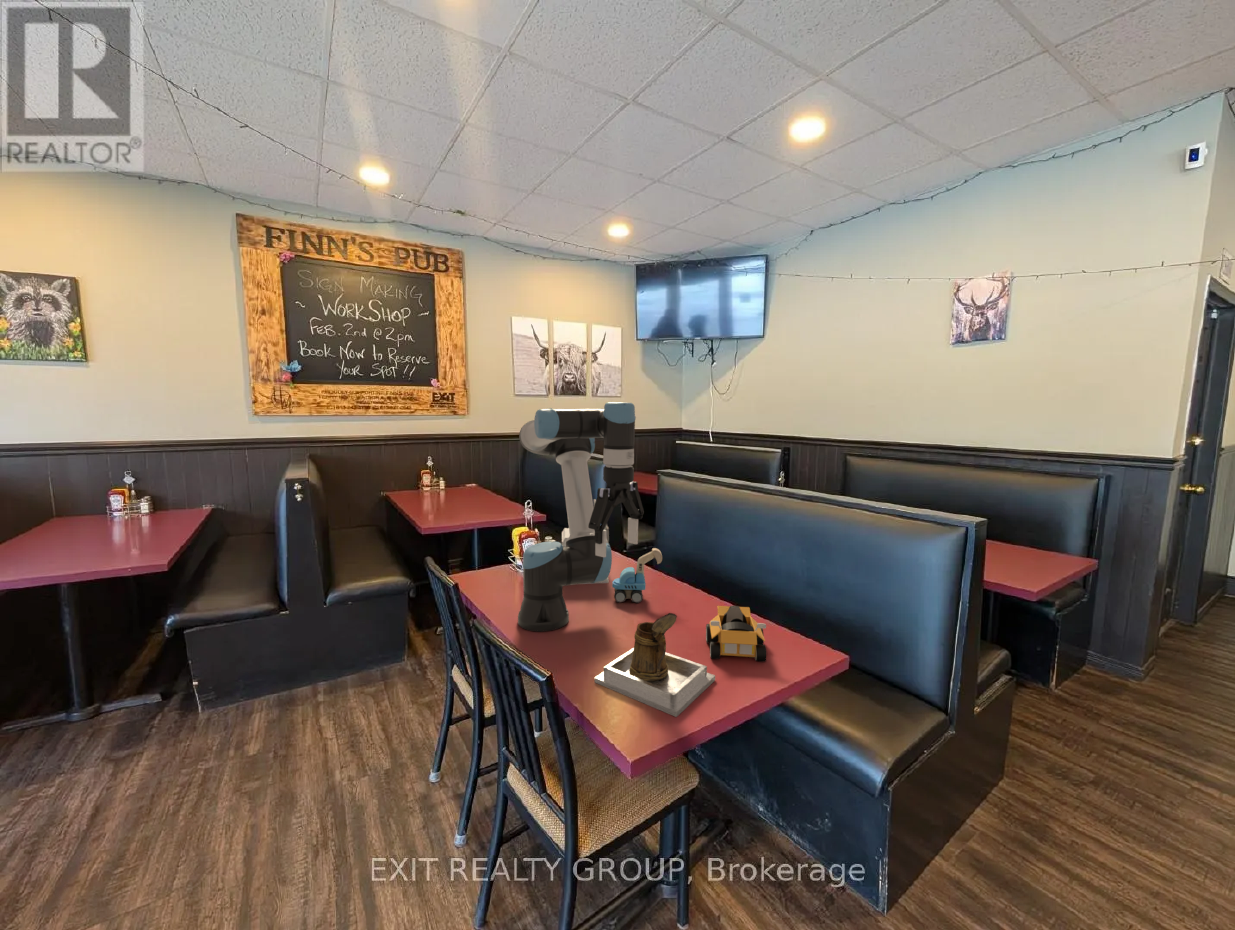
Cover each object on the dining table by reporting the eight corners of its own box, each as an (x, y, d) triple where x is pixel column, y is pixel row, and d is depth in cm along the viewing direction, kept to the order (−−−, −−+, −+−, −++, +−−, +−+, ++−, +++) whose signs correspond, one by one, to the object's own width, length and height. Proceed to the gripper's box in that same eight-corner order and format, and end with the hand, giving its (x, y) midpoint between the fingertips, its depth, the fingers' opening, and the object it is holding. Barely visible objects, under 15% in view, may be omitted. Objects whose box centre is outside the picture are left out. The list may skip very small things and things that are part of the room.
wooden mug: (651, 696, 109) (652, 617, 107) (623, 667, 121) (623, 596, 119) (685, 686, 113) (686, 609, 111) (654, 659, 125) (655, 590, 123)
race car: (708, 662, 127) (709, 622, 126) (705, 636, 142) (706, 600, 141) (769, 666, 125) (770, 625, 124) (759, 639, 140) (760, 602, 139)
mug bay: (594, 682, 117) (594, 667, 117) (638, 652, 131) (638, 639, 131) (676, 717, 104) (676, 700, 103) (715, 680, 118) (715, 665, 118)
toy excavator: (662, 603, 165) (663, 553, 163) (611, 603, 165) (611, 552, 163) (660, 594, 173) (661, 546, 171) (612, 593, 173) (612, 545, 172)
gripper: (599, 473, 110) (598, 565, 113) (658, 461, 130) (656, 540, 133) (573, 469, 115) (573, 558, 118) (634, 459, 135) (633, 535, 138)
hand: (617, 549), depth 126 cm, fingers open, 13 cm apart
